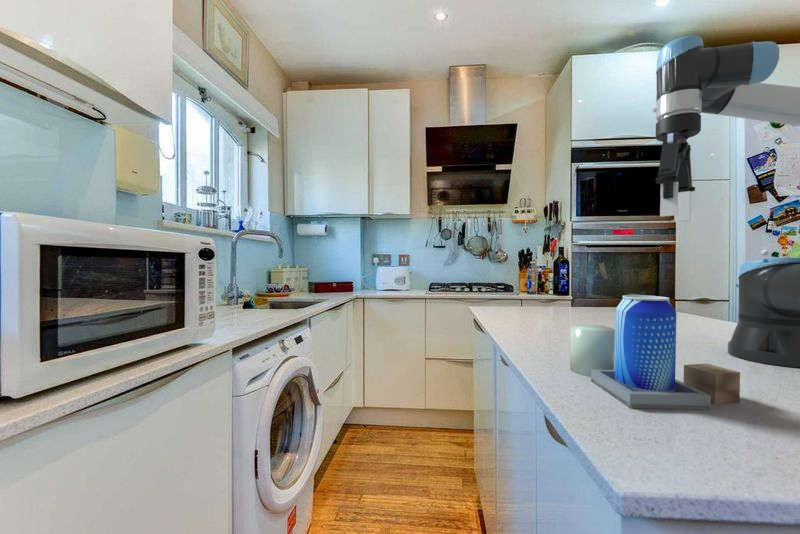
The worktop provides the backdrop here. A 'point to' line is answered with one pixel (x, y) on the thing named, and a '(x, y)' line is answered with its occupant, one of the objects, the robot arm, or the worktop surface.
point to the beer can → (645, 343)
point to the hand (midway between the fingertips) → (675, 218)
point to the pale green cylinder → (591, 348)
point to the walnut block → (714, 382)
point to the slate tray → (652, 394)
